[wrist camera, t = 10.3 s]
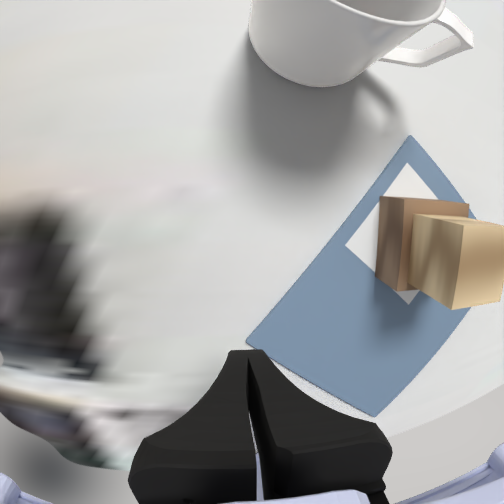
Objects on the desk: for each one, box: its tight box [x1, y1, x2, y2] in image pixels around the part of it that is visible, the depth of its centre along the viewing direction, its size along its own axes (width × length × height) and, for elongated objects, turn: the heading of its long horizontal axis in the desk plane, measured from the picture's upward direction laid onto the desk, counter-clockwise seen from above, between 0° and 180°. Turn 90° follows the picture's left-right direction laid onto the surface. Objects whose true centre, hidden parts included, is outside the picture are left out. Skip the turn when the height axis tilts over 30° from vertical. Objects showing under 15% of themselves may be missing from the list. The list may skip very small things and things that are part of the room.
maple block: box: [407, 214, 504, 310], centre depth 16 cm, size 4×4×5 cm
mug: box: [248, 0, 473, 87], centre depth 13 cm, size 12×9×11 cm
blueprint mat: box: [246, 135, 477, 417], centre depth 23 cm, size 20×16×1 cm
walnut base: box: [375, 196, 469, 292], centre depth 20 cm, size 6×6×4 cm
